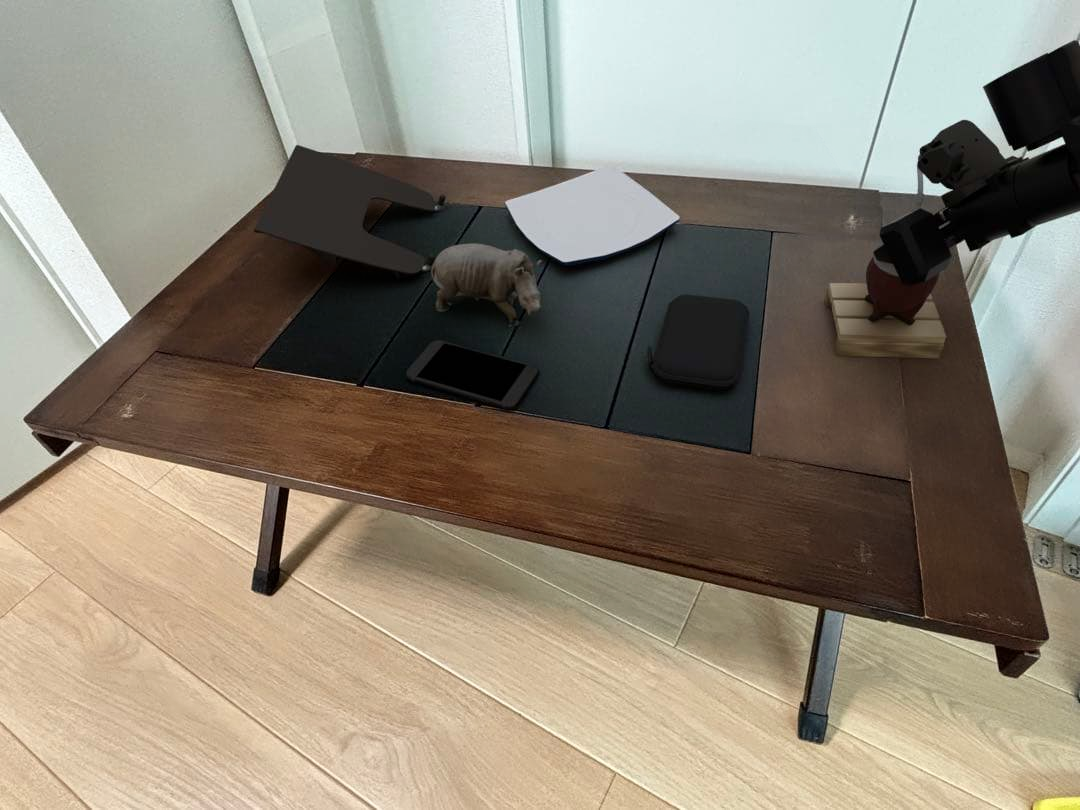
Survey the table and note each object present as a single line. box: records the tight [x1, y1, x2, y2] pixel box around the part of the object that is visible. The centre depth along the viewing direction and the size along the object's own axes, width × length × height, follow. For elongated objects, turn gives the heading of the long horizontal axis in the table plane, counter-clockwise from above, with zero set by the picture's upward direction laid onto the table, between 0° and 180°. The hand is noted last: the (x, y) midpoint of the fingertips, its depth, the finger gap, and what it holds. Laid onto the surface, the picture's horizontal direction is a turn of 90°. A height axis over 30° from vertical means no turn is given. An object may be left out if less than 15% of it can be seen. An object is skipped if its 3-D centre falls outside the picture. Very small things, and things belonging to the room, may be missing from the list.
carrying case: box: [646, 293, 750, 391], centre depth 83 cm, size 11×3×15 cm
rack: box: [823, 282, 947, 360], centre depth 83 cm, size 11×10×3 cm
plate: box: [504, 164, 681, 267], centre depth 103 cm, size 20×20×3 cm
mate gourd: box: [865, 165, 941, 326], centre depth 77 cm, size 8×8×15 cm
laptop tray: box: [253, 144, 447, 279], centre depth 104 cm, size 23×23×9 cm
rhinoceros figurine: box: [430, 242, 543, 328], centre depth 90 cm, size 8×14×15 cm
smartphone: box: [405, 339, 540, 410], centre depth 84 cm, size 7×15×1 cm, turn 64°
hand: (894, 245), depth 77 cm, fingers closed on mate gourd, 5 cm apart
